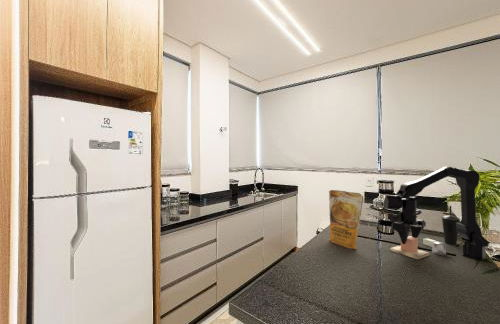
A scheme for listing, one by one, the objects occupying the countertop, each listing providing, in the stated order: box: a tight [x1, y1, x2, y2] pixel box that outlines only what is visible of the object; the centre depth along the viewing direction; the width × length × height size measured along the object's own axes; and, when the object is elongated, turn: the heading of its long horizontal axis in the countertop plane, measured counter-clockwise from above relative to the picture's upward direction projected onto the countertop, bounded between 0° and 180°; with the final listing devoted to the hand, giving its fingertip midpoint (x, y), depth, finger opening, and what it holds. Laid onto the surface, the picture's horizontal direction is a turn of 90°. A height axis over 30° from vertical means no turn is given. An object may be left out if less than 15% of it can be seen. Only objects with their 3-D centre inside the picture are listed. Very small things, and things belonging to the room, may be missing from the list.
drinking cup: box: [441, 205, 461, 245], centre depth 125 cm, size 8×8×20 cm
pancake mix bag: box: [328, 189, 364, 250], centre depth 123 cm, size 7×19×28 cm, turn 31°
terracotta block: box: [400, 235, 419, 253], centre depth 111 cm, size 5×5×6 cm
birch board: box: [389, 244, 430, 260], centre depth 111 cm, size 12×10×1 cm
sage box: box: [422, 237, 436, 248], centre depth 121 cm, size 6×3×3 cm, turn 11°
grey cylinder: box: [431, 240, 447, 256], centre depth 111 cm, size 5×5×5 cm
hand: (409, 242), depth 111 cm, fingers open, 9 cm apart
